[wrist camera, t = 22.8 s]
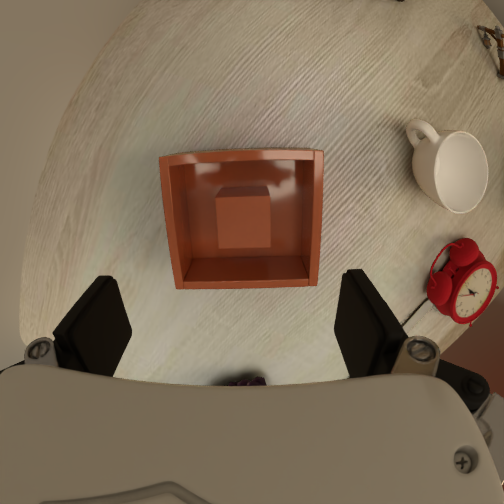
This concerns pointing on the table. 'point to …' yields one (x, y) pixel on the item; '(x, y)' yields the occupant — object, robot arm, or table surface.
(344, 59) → the table surface
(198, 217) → the terracotta bin
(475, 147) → the cup
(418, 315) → the butter knife
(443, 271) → the alarm clock
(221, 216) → the terracotta block
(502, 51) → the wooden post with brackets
